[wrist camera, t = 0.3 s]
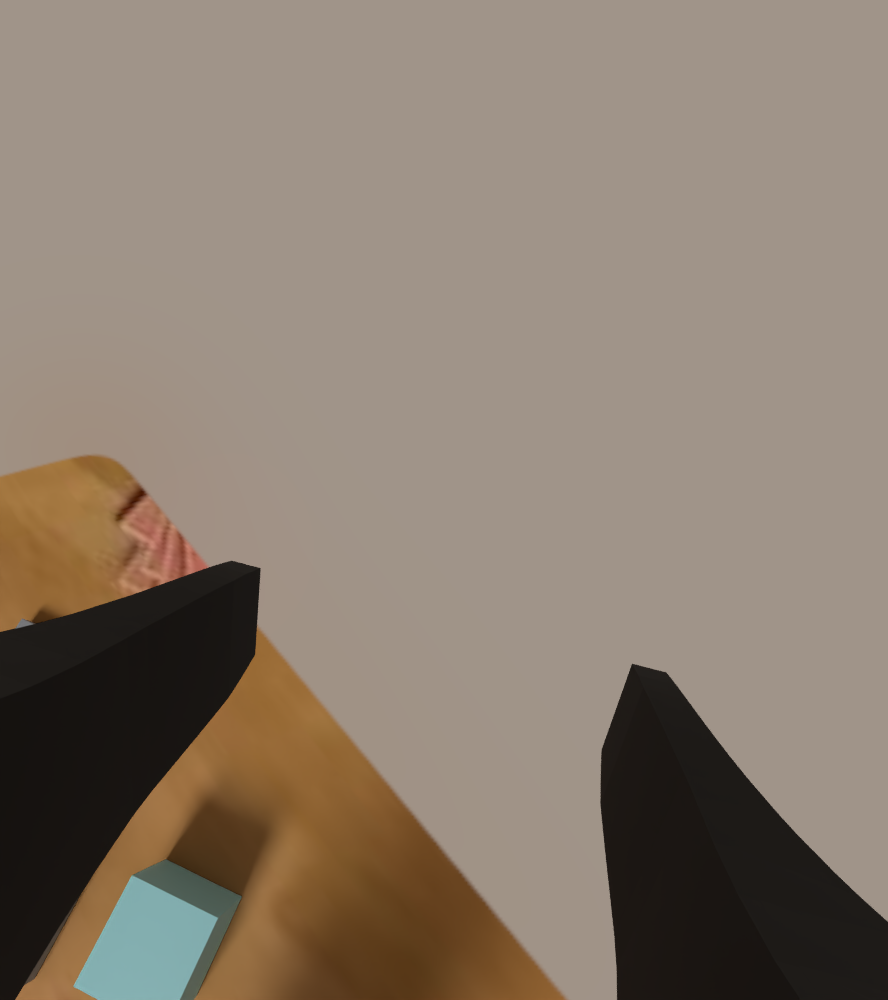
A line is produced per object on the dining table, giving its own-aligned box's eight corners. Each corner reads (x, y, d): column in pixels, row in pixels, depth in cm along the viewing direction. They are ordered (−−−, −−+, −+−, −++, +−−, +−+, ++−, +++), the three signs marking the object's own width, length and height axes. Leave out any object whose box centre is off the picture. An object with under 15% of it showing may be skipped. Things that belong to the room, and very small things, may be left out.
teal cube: (195, 996, 33) (163, 1034, 28) (116, 955, 33) (73, 986, 29) (242, 896, 34) (217, 917, 30) (166, 859, 35) (132, 875, 31)
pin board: (34, 978, 33) (-11, 1006, 29) (-147, 883, 34) (-210, 899, 30) (190, 694, 38) (168, 689, 35) (31, 621, 40) (-6, 610, 36)
